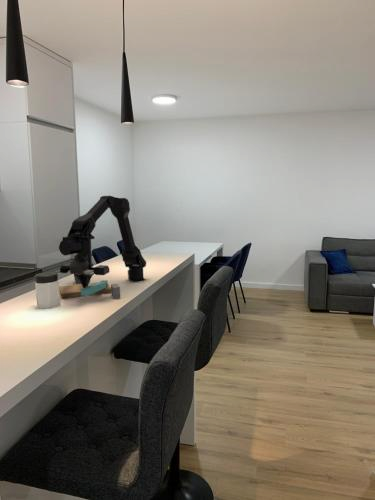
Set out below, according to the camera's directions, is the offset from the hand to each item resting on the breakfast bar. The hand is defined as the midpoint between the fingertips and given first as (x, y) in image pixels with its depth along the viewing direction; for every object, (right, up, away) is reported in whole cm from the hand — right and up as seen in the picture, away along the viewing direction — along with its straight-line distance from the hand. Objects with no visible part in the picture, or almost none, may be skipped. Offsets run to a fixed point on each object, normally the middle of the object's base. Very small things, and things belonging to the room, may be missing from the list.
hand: (85, 290), depth 158 cm
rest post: (+12, -3, +1) cm, 12 cm away
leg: (+3, 0, +3) cm, 4 cm away
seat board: (-3, -2, +11) cm, 11 cm away
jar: (-12, -5, -8) cm, 15 cm away
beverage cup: (-9, +1, +28) cm, 30 cm away
